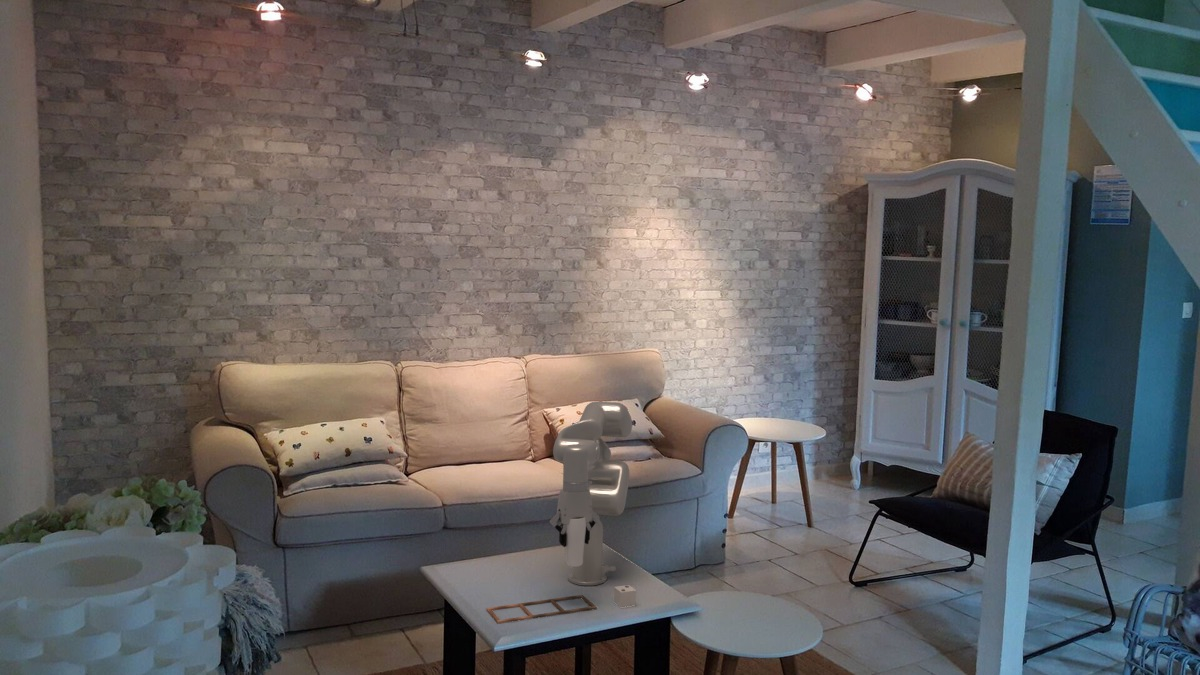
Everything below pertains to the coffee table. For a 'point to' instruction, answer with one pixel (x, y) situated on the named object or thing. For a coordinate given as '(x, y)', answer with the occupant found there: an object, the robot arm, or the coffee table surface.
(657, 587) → the coffee table surface
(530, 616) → the copper window frame
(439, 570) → the coffee table surface
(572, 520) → the drinking glass
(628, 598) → the die
